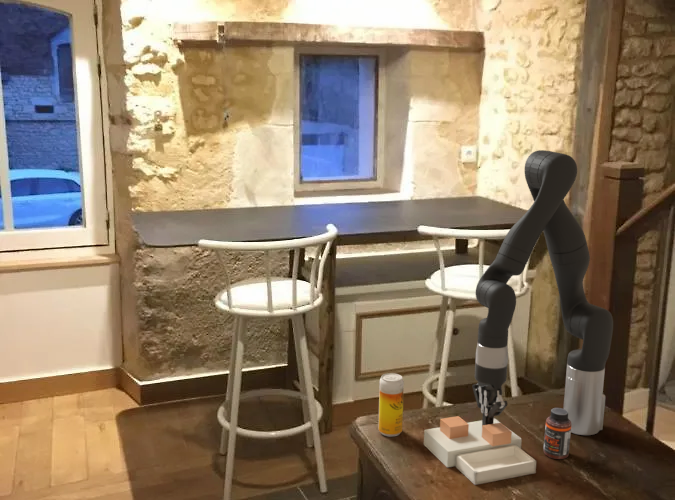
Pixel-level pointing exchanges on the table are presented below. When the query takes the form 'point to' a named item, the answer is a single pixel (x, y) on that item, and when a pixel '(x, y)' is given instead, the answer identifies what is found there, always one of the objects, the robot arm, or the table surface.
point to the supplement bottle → (557, 434)
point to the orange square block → (454, 427)
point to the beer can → (391, 404)
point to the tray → (495, 464)
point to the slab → (461, 443)
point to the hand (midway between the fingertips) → (487, 428)
